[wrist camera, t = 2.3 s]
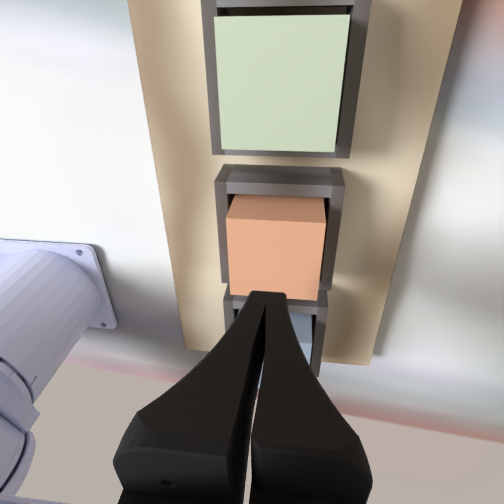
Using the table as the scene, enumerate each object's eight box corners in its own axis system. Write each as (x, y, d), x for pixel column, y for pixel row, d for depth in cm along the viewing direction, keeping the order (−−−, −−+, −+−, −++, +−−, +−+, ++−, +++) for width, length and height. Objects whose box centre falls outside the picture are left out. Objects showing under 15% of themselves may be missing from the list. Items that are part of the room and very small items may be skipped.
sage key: (234, 129, 17) (221, 149, 14) (229, 16, 14) (213, 16, 12) (329, 131, 16) (334, 152, 14) (341, 15, 14) (349, 14, 11)
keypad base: (190, 335, 29) (176, 376, 26) (133, -43, 16) (89, -59, 13) (366, 350, 28) (374, 395, 24) (463, -55, 14) (510, -76, 11)
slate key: (242, 349, 25) (235, 386, 22) (240, 301, 22) (232, 336, 20) (306, 354, 24) (306, 393, 22) (311, 306, 22) (312, 343, 20)
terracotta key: (239, 261, 21) (230, 294, 18) (236, 191, 18) (225, 218, 16) (315, 265, 20) (317, 300, 18) (322, 194, 18) (326, 223, 15)
